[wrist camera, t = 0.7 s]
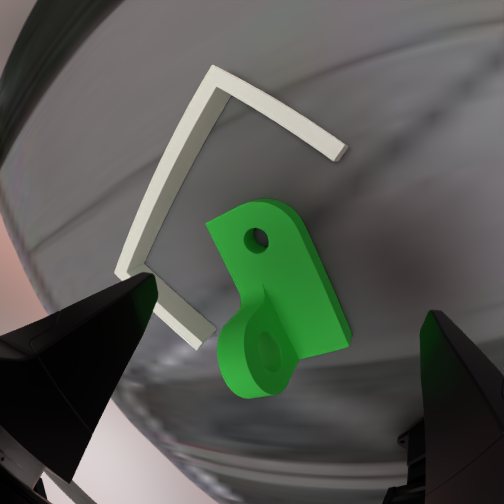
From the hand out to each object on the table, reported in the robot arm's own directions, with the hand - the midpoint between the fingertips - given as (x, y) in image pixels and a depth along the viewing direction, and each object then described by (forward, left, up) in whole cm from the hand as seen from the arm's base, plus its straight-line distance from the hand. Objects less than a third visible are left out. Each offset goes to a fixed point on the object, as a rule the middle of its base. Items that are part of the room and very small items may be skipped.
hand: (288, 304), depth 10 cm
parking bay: (+8, +5, -12) cm, 15 cm away
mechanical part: (+1, +6, -13) cm, 14 cm away
